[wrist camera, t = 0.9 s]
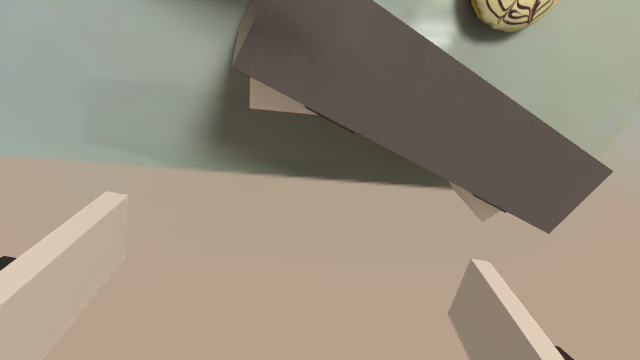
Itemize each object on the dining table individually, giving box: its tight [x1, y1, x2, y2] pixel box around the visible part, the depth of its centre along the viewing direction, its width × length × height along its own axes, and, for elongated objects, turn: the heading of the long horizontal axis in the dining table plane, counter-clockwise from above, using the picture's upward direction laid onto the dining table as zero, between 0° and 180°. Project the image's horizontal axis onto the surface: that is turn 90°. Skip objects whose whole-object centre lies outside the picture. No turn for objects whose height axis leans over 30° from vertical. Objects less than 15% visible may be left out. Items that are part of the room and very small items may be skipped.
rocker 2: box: [448, 181, 501, 222], centre depth 41 cm, size 12×3×7 cm, turn 37°
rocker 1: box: [250, 77, 317, 115], centre depth 34 cm, size 12×3×7 cm, turn 81°
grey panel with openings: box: [232, 0, 613, 234], centre depth 36 cm, size 34×8×17 cm, turn 59°
